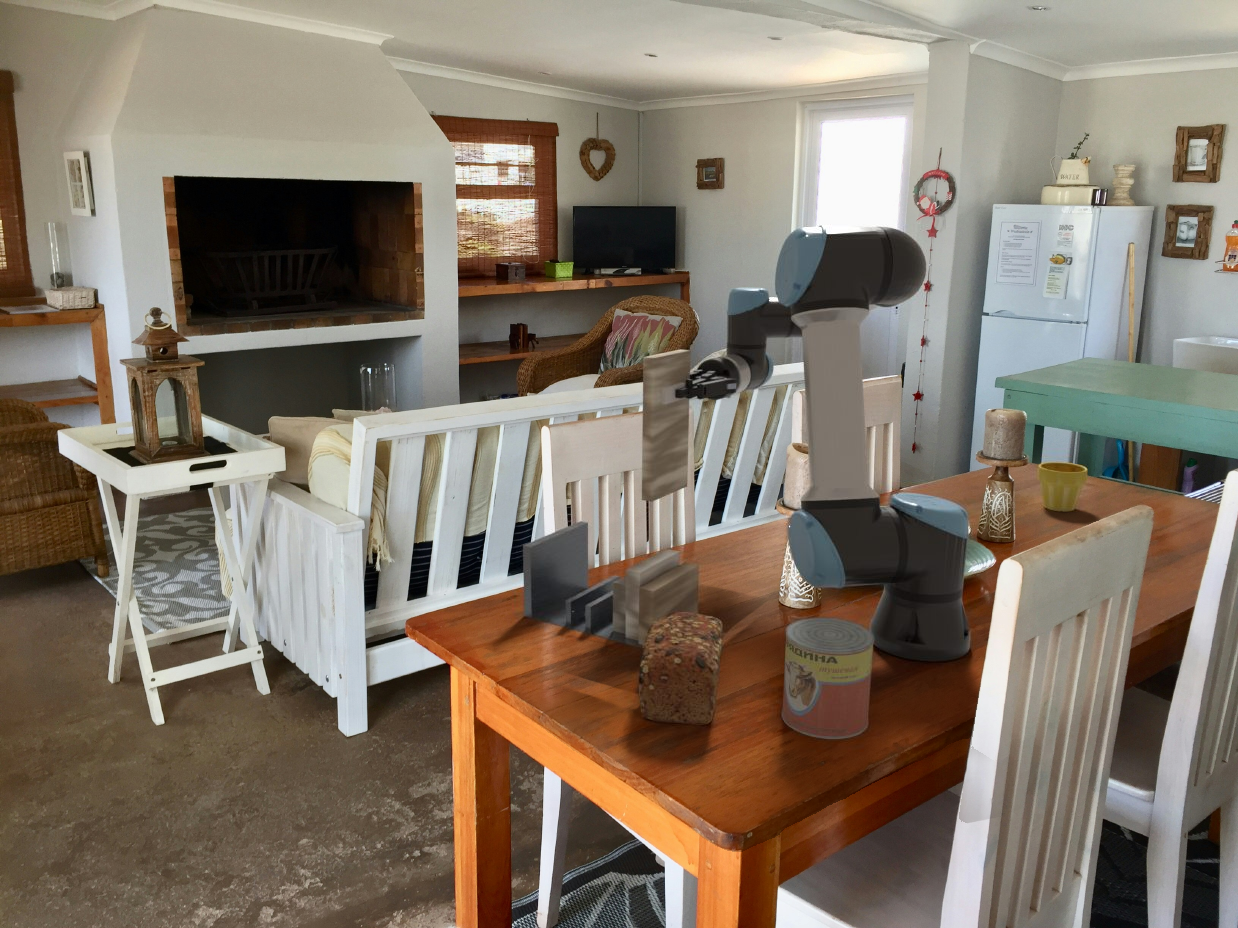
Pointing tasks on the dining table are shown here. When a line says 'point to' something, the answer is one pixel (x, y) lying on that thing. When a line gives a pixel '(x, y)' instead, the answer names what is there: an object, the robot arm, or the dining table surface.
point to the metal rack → (568, 585)
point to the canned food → (827, 677)
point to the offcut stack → (654, 593)
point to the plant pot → (1061, 484)
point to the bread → (681, 668)
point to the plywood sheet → (664, 426)
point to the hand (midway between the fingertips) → (656, 395)
